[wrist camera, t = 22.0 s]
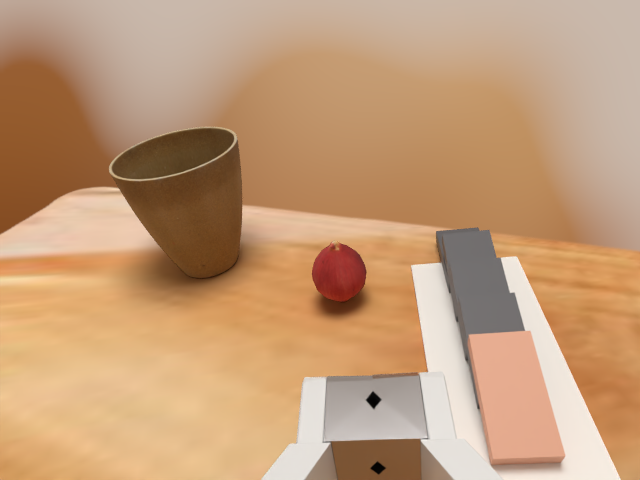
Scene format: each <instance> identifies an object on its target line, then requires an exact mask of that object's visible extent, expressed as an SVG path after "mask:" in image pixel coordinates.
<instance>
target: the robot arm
mask: <svg viewBox="0 0 640 480" xmlns="http://www.w3.org/2000/svg"><path fill="white" fill-rule="evenodd" d="M261 480H504V479H503V478H502V477H501V476H500V475H499V474H498V473H497V472H496V471H495V470H494V469H493V468H492V467H491V466H490V465H489V464H488V463H487V462H486V461H485V460H484V458H483V457H482V456H481V455H480V454H479V453H478V452H477V451H476V450H475V449H474V448H473V447H472V446H471V445H470V444H469V443H468V442H467V441H466V440H465V439H457V435H456V430H455V425H454V420H453V415H452V410H451V405H450V400H449V395H448V390H447V385H446V380H445V375H444V374H443V372H423V373H419V374H418V372H416V373H398V374H380V375H373V376H328V377H305V378H304V381H303V383H302V392H301V402H300V412H299V422H298V432H297V442H296V443H293V444H289V445H288V446H287V448H286V449H285V450H284V451H283V453H282V454H281V455H280V456H279V458H278V459H277V460H276V461H275V463H274V464H273V465H272V466H271V468H270V469H269V470H268V471H267V473H266V474H265V475H264V476H263V478H262V479H261Z"/></svg>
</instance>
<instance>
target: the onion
mask: <svg viewBox="0 0 640 480" xmlns="http://www.w3.org/2000/svg"><path fill="white" fill-rule="evenodd" d="M312 277H313V281H314V283H315V286H316V288H317V290H318V291H319V292H320V293H321V294H322V295H323V296H324V297H326V298H328V299H331V300H334V301H339V302H346V301H348V300H349V299H350V298H352V297H353V296H355V295H356V294H357V293H358V292H359V291H360V290H361V289H362V288H363V286H364V284H365V279H366V268H365V265H364V262H363V260H362V259H361V257H360V255H359V254H358V253H357V252H356V251H355V250H353V249H352V248H350V247H348V246H347V245H344V244H341V243H339V242H338V241H332V242H331V244H330V245H329V246H328V247H326V248H325V249H323V250H322V251H321V252H320V254H319V255H318V256H317V258H316V259H315V262H314V265H313V270H312Z"/></svg>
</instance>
